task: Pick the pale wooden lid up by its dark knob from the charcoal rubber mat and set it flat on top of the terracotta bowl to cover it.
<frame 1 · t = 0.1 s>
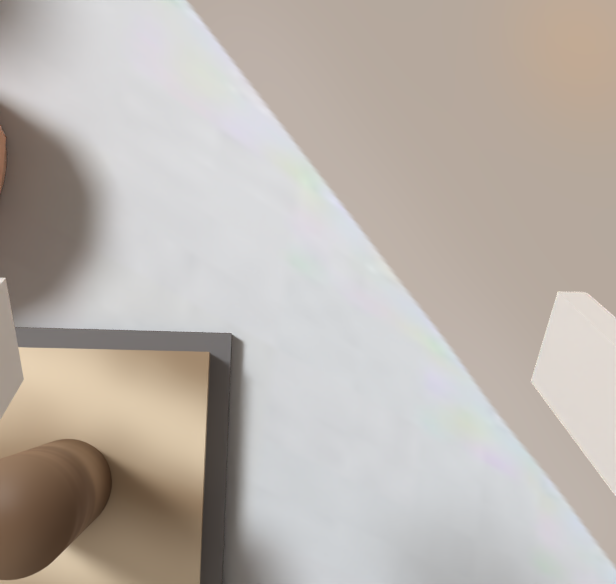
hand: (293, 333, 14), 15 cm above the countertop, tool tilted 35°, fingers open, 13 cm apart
lid: (72, 480, 26), point 1 cm above the countertop, touching mat
mat: (75, 478, 27), on the countertop
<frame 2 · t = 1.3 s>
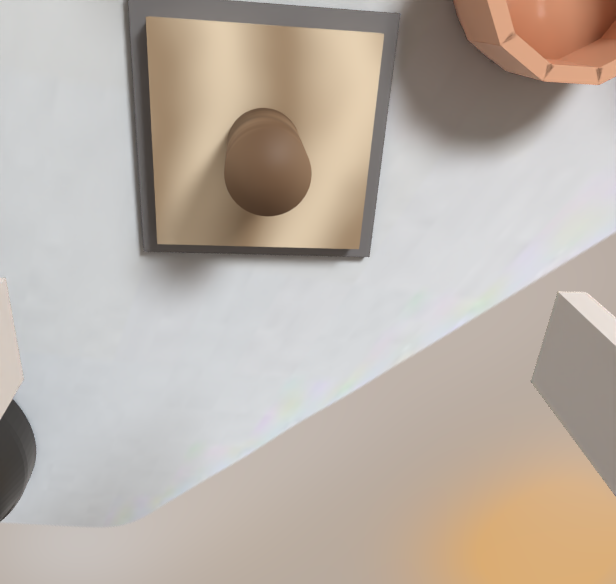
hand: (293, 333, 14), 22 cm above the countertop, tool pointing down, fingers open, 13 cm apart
lid: (263, 140, 33), point 1 cm above the countertop, touching mat
mat: (262, 138, 33), on the countertop
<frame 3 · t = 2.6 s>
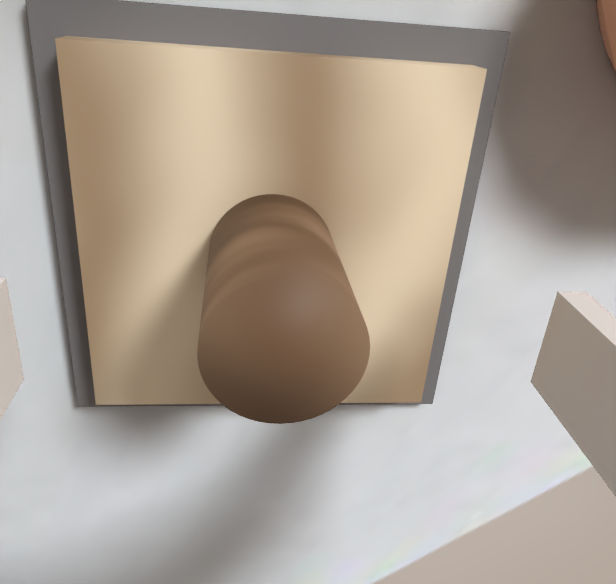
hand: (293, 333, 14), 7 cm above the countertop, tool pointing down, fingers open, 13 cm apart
lid: (269, 240, 20), point 1 cm above the countertop, touching mat
mat: (269, 233, 20), on the countertop
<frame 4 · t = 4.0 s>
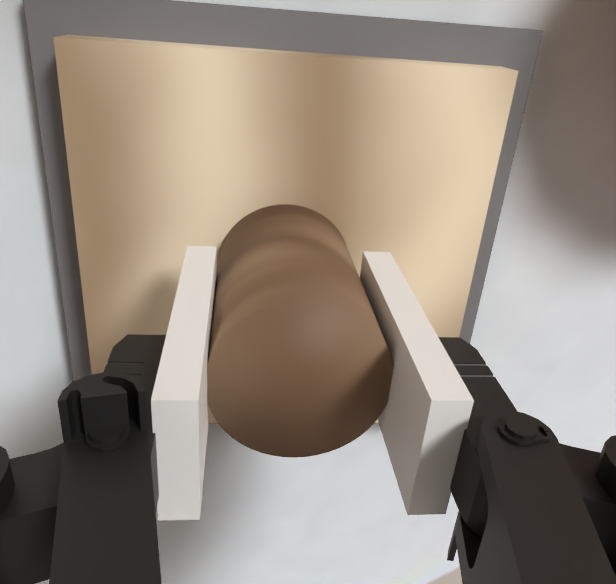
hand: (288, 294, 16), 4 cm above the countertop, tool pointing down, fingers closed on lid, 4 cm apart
lid: (282, 251, 19), point 1 cm above the countertop, touching gripper, mat
mat: (281, 244, 19), on the countertop
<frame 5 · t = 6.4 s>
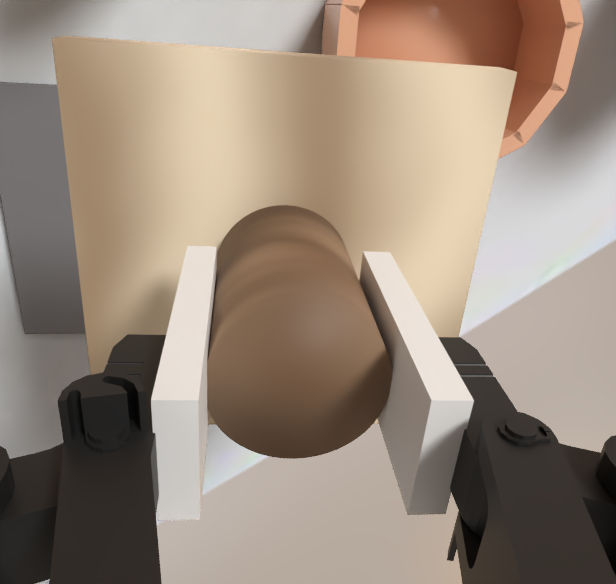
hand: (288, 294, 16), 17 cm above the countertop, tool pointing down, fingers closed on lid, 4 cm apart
lid: (280, 252, 19), point 14 cm above the countertop, touching gripper
mat: (141, 219, 32), on the countertop
bowl: (426, 43, 30), on the countertop
when the fingers open (10 cm above the countertop, at t = 9.0 s): lid drops 2 cm, resting on bowl.
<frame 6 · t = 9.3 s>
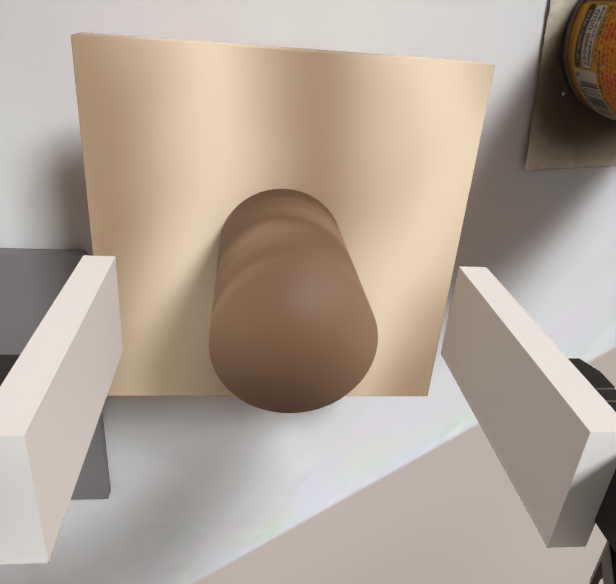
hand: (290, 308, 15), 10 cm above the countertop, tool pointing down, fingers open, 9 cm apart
lid: (279, 234, 20), point 5 cm above the countertop, touching bowl
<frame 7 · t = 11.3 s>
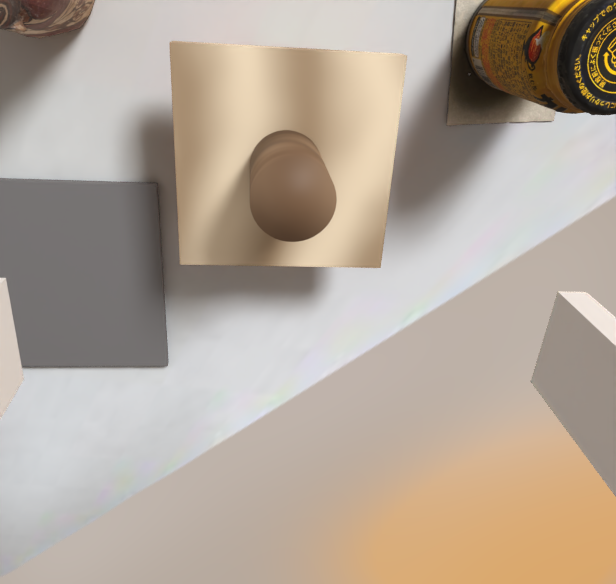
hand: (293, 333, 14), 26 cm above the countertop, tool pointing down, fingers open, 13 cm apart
lid: (284, 161, 33), point 5 cm above the countertop, touching bowl
mat: (60, 277, 40), on the countertop
condiment: (506, 53, 36), on the countertop
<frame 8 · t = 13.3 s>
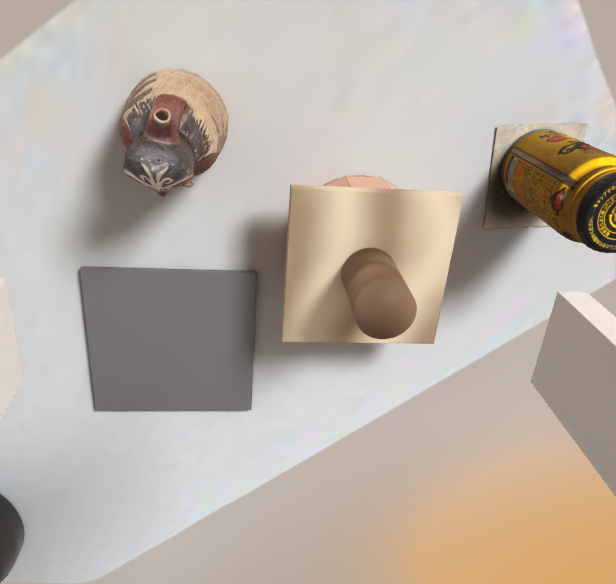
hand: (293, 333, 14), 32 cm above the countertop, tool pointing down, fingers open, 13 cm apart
figurine: (179, 118, 42), on the countertop
lid: (365, 266, 43), point 5 cm above the countertop, touching bowl
mat: (173, 341, 50), on the countertop
condiment: (531, 176, 47), on the countertop
bowl: (354, 240, 48), on the countertop
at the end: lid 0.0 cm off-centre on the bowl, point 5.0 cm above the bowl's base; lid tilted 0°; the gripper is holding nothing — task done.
